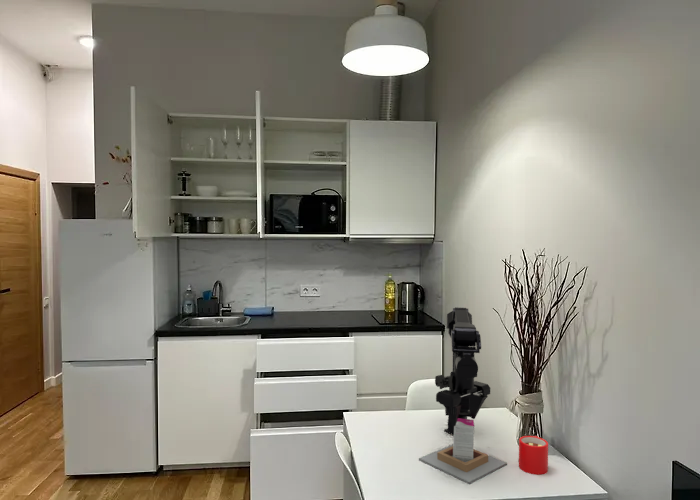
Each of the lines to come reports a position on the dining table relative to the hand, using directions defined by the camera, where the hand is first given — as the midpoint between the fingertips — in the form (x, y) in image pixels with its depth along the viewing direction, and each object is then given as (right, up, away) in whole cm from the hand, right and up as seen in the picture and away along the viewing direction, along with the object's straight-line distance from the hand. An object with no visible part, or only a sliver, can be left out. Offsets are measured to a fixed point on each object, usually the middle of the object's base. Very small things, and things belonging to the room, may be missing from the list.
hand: (463, 422), depth 143 cm
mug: (+20, -13, -1) cm, 24 cm away
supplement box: (0, -12, +1) cm, 12 cm away
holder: (0, -12, 0) cm, 12 cm away
